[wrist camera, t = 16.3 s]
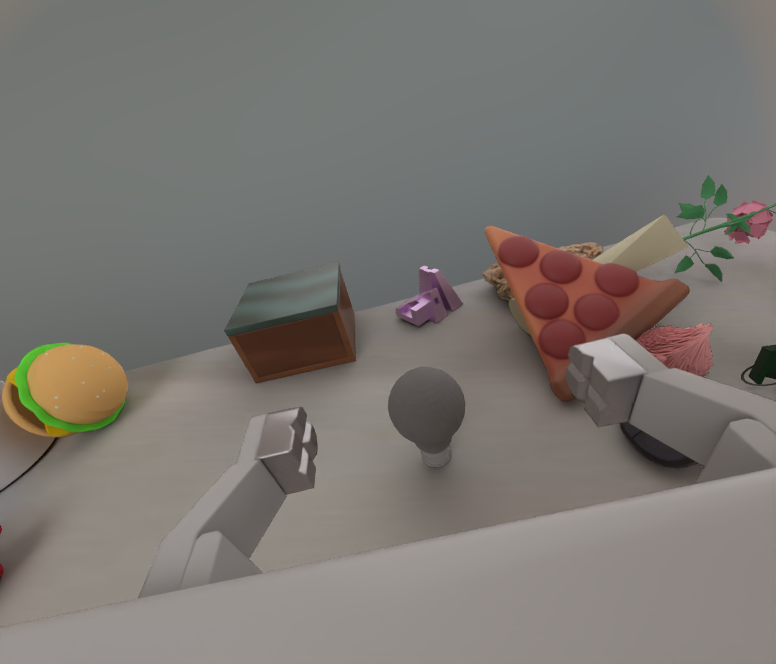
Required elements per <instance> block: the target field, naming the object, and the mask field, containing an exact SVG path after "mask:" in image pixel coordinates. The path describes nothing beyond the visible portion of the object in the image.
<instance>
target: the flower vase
mask: <svg viewBox="0 0 776 664" xmlns="http://www.w3.org/2000/svg"><path fill="white" fill-rule="evenodd" d="M714 195H715V185H714V181H713V180H712V179H711V178H710V176H709V175H708V176H707V178H706V180H705V182H704V183H703V186H702V191H701V197H702V198H705V200H706V199H708V198H710V197H711V196H714ZM726 201H727V190H726V189H725V187H724V186H723V185H721V186H720V187H719V189H718V190H717V192H716V195H715V199H714V204H716V205H717V206H720V205H722V204H724V203H726ZM704 203H705V202H704ZM679 205H680V207H681V210H682V213H681V214H680V215H678V216H677V217H679V218H684V219H696V218H699V219H700V218H703V216H704V214H705V213H706V209H704V208H703V206H702V205H700V206H694V205H691V204H680V203H679ZM747 205H748V202H747V201H746V202H744V203H743V204H742V205H741V206H739V207H736V208H734V210H735V211H734V212H733V214H726V215H727V219H728V220H727V222H725V223H723V224H720V225H717V226H714V227H711V228H709V229H706V230H704V228H705V226H704V228H703V230H702V231H701V232H698V233H695V234H692V235H691V232H690V236H687V237H684V238H682V237H681V236H680V235H679V233H678V232H677V230H676V229H675V228H674V226H673V225H672V223H671V222H670V221H669V219H668V218H667V217H666V215H665V214H664V215H663V216H661V217H659V218H658V219H656V220H654V221H653V222H651V223H650V224H648V225H647V226H645V227H643V228H642V229H640V230H638V231H637V232H635V233H634V234H632V235H631V236H629V237H627V238H626V239H624V240H623V241H621V242H620V243H618V244H616V245H615V246H613V247H612V248H610V249H609V250H607V251H606V252H604V253H602V254H601V255H599V256H598V257H596V258H595V259H593V261H596V262H599V263H602V264H606V263H614V264H618V265H622V266H625V267H627V268H630V269H632V270H634V271H635V272H637V271H639V270H641V269H643V268H645V267H647V266H649V265H651V264H654V263H656V262H658V261H660V260H662V259H664V258H666V257H668V256H670V255H672V254H675V253H676V252H679V251H681V250H683V249H685V248H687V247H688V246H687V244H686V243H688V242H686V241H685V240H686V239H689V238H692V237H695V236H697V235H700V234H703V233H706V232H709V231H712V230H716V229H719V228H722V227H728V228H727V230H725V231H724V232H725V235H726V234H727V235H729V237H730V238H729V240H732V239H733V238H734V237H735V240H736V242H735V243H743V242H745V243H747V244H748V243H749V242H750V240H749V238H748V237H747V236H749V235H750V237H751V236H752V237H756V238H758V239H759V238H760V237H761V236H763V235H764V234H765V232H766V230H767V227H768V225H769V223H770V222H771V221H772V219H771V217H772V216H773V214H772V213H771V212H773V211H771V212H769V211H770V210H769V208H771V207H774V206H776V203H775V204H773V205H771V206H769V207H767V208H764V207H766V204H765V203H759V202H756V201H753V203H751V204H750V205H748V206H747ZM704 207H705V204H704ZM715 208H716V207H715ZM713 210H714V209H713ZM774 213H776V212H774ZM710 214H711V213H710ZM710 214H709V215H710ZM705 215H706V214H705ZM699 219H698V220H699ZM703 219H704V218H703ZM707 219H708V218H707ZM707 219H706V220H707ZM698 220H697V221H698ZM697 221H696V222H697ZM704 221H705V219H704ZM696 222H695V223H696ZM695 223H694V225H695ZM694 225H693V226H694ZM705 225H706V221H705ZM693 226H692V228H693ZM730 226H731V227H730ZM691 231H692V229H691ZM684 241H685V242H686V243H685V242H684ZM688 244H689V243H688ZM689 245H690V244H689ZM690 246H691V245H690ZM691 247H692V246H691ZM692 248H693V247H692ZM693 249H694V248H693ZM694 250H695V253H697V252H696V250H700V249H694ZM702 251H704V250H702ZM706 252H711V253H712V254H713V255H714V256H715V257H720V258H724V259H733V258H734V257H733V256H732V255H731V254H730V253H729V251H728V250H726V249H724V248H722V247H717V246H715V247H714V248H713V249H712V250H711V251H706ZM695 253H694V254H695ZM694 254H693V255H694ZM693 255H692V256H693ZM697 255H698V253H697ZM692 256H691V257H692ZM691 257H688V256H685V257H684V258H683V260H682V261H681V262H680V263H679V264H678V267H677V269H676V271H675V273H677V272H682V271H685V270H687V269H689V268H690V267H692V265H693V264H694V263H693V261H692V260H691ZM698 257H699V255H698ZM699 258H700V257H699ZM700 260H701V258H700ZM701 261H702V260H701ZM702 263H703V261H702ZM703 264H705V263H703ZM705 267H707V268H708V269H709V270H710V271H711V272H712V273H713V275H714V276H716V277H717V278H718V279H719V280H720V281H722V272H721V270H720V268H719V267H718V266H717V265H716V264H705ZM509 307H510V311H511V313H512V315H513V317H514V319H515V321H516V322H517V323H518V325H519V326H520V327H521V328H522V329H523V330H524V331H525V332H526V333H527V334H530V332H529V329H528V327H527V325H526V323H525V321H524V318H523V316H522V314H521V312H520V310H519V307H518V305H517V303H516V301H515V299H514V298H512V299H510V300H509Z"/></svg>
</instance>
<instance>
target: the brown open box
mask: <svg viewBox="0 0 776 664" xmlns="http://www.w3.org/2000/svg"><path fill="white" fill-rule="evenodd" d="M229 339H230V341H231V342H232V344H233V346H234V347H235V349H236V351H237V352H238V354H239V356H240V357H241V359H242V361H243V362H244V364H245V366H246V367H247V369H248V371H249V372H250V374H251V376H252V377H253V379H254V381H255V383H259V382H264V381H268V380H272V379H277V378H281V377H286V376H290V375H295V374H299V373H303V372H308V371H312V370H317V369H321V368H325V367H330V366H334V365H339V364H343V363H347V362H352V361H356V351H355V321H354V312H353V309H352V305H351V303H350V299H349V296H348V293H347V290H346V286H345V283H344V281H343V278H342V274H341V271H340V286H339V310H338V311H335V312H331V313H326V314H322V315H318V316H313V317H309V318H305V319H301V320H296V321H292V322H288V323H283V324H279V325H275V326H271V327H266V328H262V329H258V330H253V331H249V332H245V333H241V334H236V335H232V336H229Z"/></svg>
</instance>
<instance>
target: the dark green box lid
mask: <svg viewBox="0 0 776 664" xmlns="http://www.w3.org/2000/svg"><path fill="white" fill-rule="evenodd" d="M339 286H340V265H339V262H337V263H333V264H329V265H325V266H320V267H316V268H312V269H308V270H304V271H299V272H295V273H291V274H287V275H283V276H279V277H274V278H270V279H266V280H262V281H257V282H254V283H249V285H248V287H247V289H246V291H245V293H244V294H243V296H242V298H241V300H240V302H239V304H238V306H237V308H236V309H235V311H234V313H233V315H232V317H231V319H230V321H229V323H228V325H227V326H226V328H225V330H224V331H225V332H226V334H227V336H232V335H236V334H241V333H245V332H249V331H253V330H258V329H262V328H266V327H271V326H275V325H279V324H283V323H288V322H292V321H296V320H301V319H305V318H309V317H313V316H318V315H322V314H326V313H331V312H335V311H338V310H339Z"/></svg>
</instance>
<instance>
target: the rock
mask: <svg viewBox="0 0 776 664" xmlns="http://www.w3.org/2000/svg"><path fill="white" fill-rule="evenodd" d="M558 249H561V250H564V251H568V252H570V253H573V254H576V255H579V256H581V257H584V258H587V259H590V260H593V259H595V258H596V257H598V256H599V255H601V254H602V253H603V247H601V246H599V245H598V244H597V243H589V242H588V243H582V244H581V245H579V244H573V245H571V246H566V247H560V248H558ZM482 275H483V276H484V277H485V281H487V282H489V283H490V284H492V285H494V286H495V287H496V288H497V294H498V295H499V296H500V298H501V299H506V300H510V299H512V298H514V296H513V294H512V292H511V290H510V288H509V285H508V283H507V281H506V279H505V277H504V274H503V272H502V270H501V268H500V265H499V264H493V265H492V266H491V267H490V268H487V269H486V270H485V271H484V272H483V273H482Z"/></svg>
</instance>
